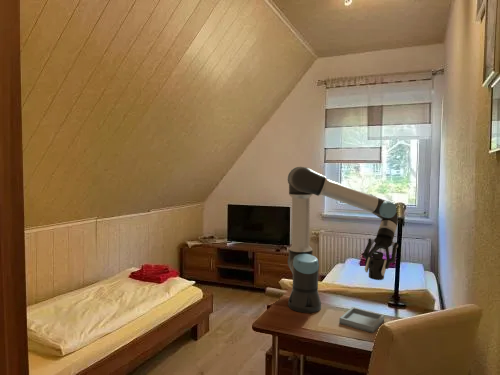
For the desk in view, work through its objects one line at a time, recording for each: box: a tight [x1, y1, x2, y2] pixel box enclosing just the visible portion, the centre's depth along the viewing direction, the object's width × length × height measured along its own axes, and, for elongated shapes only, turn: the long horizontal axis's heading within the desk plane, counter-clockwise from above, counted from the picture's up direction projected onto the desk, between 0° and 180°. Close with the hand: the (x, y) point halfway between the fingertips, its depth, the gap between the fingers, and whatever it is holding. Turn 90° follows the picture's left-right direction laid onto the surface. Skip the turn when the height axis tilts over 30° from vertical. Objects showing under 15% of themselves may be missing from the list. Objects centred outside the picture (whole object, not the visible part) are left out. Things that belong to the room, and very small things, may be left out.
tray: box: [338, 306, 385, 334], centre depth 156 cm, size 14×15×2 cm
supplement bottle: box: [368, 250, 386, 281], centre depth 169 cm, size 7×7×12 cm
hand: (374, 272), depth 166 cm, fingers closed on supplement bottle, 7 cm apart
